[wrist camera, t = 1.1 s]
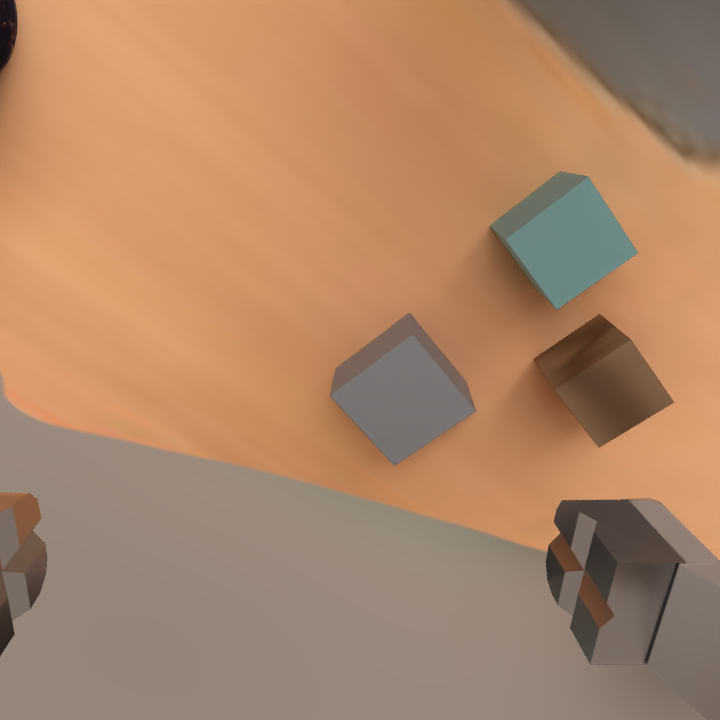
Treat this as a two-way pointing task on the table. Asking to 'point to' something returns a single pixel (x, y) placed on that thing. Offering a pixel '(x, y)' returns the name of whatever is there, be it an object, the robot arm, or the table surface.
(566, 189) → the teal cube
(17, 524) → the robot arm
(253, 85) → the table surface
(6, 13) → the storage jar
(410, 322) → the grey base block
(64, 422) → the table surface
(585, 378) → the walnut cube
